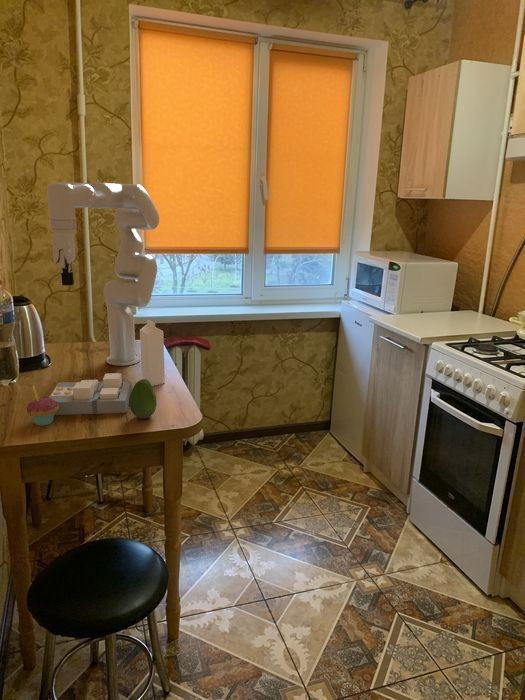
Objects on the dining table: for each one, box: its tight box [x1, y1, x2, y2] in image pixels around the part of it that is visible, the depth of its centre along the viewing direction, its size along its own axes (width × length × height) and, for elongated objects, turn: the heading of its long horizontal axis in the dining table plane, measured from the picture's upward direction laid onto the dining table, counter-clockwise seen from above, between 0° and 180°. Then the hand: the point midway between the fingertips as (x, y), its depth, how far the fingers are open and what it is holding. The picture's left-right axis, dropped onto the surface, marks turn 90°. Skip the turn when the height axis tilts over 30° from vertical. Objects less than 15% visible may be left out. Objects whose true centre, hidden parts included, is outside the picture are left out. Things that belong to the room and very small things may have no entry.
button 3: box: [102, 372, 123, 390], centre depth 170 cm, size 5×5×5 cm
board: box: [48, 380, 133, 416], centre depth 166 cm, size 16×23×4 cm
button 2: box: [80, 379, 99, 390], centre depth 169 cm, size 5×5×5 cm
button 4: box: [100, 388, 119, 399], centre depth 163 cm, size 5×5×5 cm
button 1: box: [73, 381, 94, 400], centre depth 162 cm, size 5×5×5 cm
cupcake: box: [25, 383, 59, 426], centre depth 151 cm, size 9×8×12 cm
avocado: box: [128, 378, 158, 420], centre depth 156 cm, size 8×8×12 cm
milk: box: [139, 319, 166, 387], centre depth 182 cm, size 6×6×22 cm
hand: (68, 284), depth 168 cm, fingers closed
